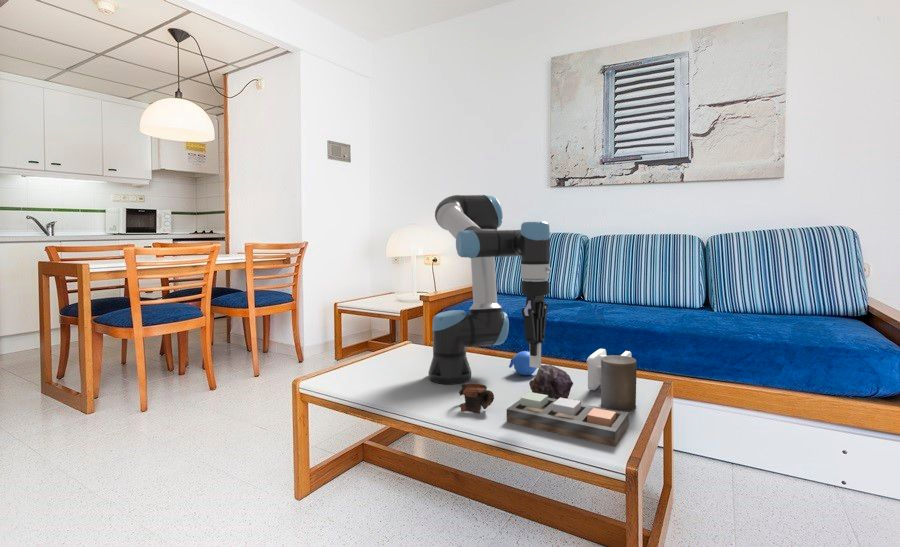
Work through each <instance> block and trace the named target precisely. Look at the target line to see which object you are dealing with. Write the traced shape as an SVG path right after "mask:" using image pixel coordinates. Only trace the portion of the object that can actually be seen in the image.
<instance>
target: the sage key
mask: <svg viewBox="0 0 900 547" xmlns="http://www.w3.org/2000/svg"><path fill="white" fill-rule="evenodd" d="M520 399H521V405H523V406H528V407H533V408H538V409H541V408H542V407H543V406H544V405H546V404H547V403H548V395H544V394H538V393H533V392H532V391H528V392H527V393H525V394H524V395H523V396H521V397H520Z"/></svg>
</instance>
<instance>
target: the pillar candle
mask: <svg viewBox="0 0 900 547" xmlns="http://www.w3.org/2000/svg"><path fill="white" fill-rule="evenodd" d="M621 355H622V354H619V355H617V354H616V355H614V354H612V355H611V354H610V355H606V356H604V357H602V358H601V385H600V405H601V407H602V408H607V409H613V410H618V411H624V412H631V411H634V410H636V409H637V359H636V358H634V357H632V356H631V357H628V356H621Z"/></svg>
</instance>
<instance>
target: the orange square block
mask: <svg viewBox="0 0 900 547" xmlns="http://www.w3.org/2000/svg"><path fill="white" fill-rule="evenodd" d="M615 420H616V412H614V411H608V410H603V409H598V408H593V409H592V410H591V411H590V412H589V413H588V415H587V423H592V424H597V425H601V426H606V427H611V426H612V424H613V423H614V422H615Z"/></svg>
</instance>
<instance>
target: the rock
mask: <svg viewBox="0 0 900 547" xmlns="http://www.w3.org/2000/svg"><path fill="white" fill-rule="evenodd" d="M573 386H574V382H573V380H572V379H571V375H569V374H568V373H567V372H566V371H565V370H563V369H561V368H559V367H556V366H555V365H552V364H544V365H543V364H541V367H540V368H537V372H536V375H535V377H534V378H533V379H531V380H530V381H529V389H530V390H531V392H533V393H538V394H544V395H548V398H553V399H559V398H566V399H569V396H570V393H571V388H572V387H573Z"/></svg>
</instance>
